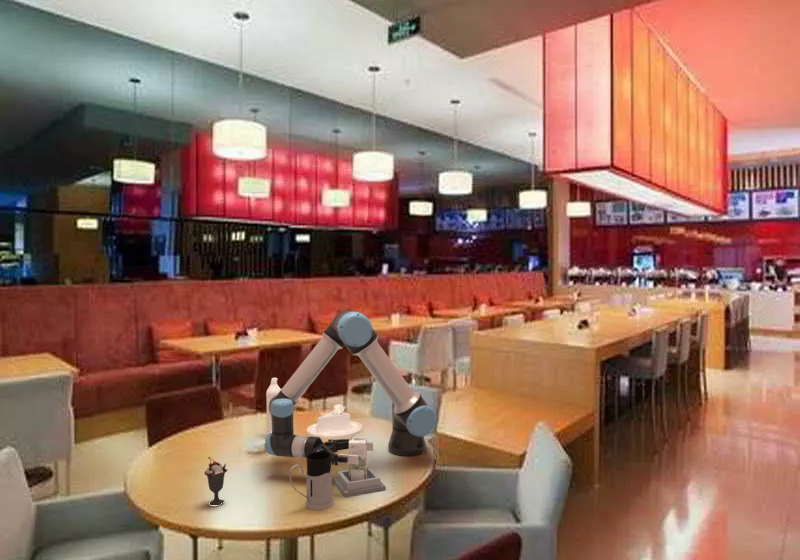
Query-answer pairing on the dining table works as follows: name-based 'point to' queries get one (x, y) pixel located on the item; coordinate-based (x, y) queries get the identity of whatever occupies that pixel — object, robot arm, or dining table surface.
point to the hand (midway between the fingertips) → (365, 453)
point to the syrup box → (358, 448)
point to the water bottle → (270, 393)
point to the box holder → (358, 483)
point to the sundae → (215, 480)
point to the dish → (334, 425)
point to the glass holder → (317, 480)
